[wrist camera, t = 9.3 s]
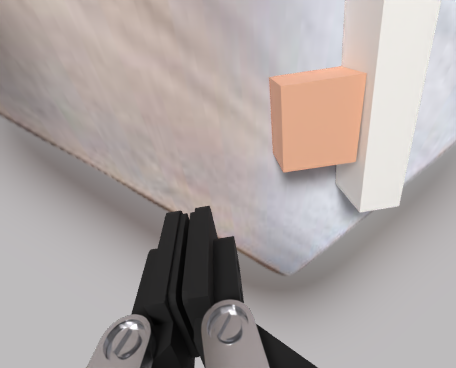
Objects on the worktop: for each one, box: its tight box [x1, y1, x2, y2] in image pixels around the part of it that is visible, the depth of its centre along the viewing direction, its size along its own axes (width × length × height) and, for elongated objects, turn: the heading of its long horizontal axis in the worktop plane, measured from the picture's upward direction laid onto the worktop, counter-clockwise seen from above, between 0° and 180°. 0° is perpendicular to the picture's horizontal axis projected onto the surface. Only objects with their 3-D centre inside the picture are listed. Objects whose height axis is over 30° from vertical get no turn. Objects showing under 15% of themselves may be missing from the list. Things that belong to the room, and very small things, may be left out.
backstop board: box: [335, 0, 441, 212], centre depth 24 cm, size 4×22×6 cm, turn 9°
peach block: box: [269, 66, 367, 173], centre depth 26 cm, size 7×8×5 cm
